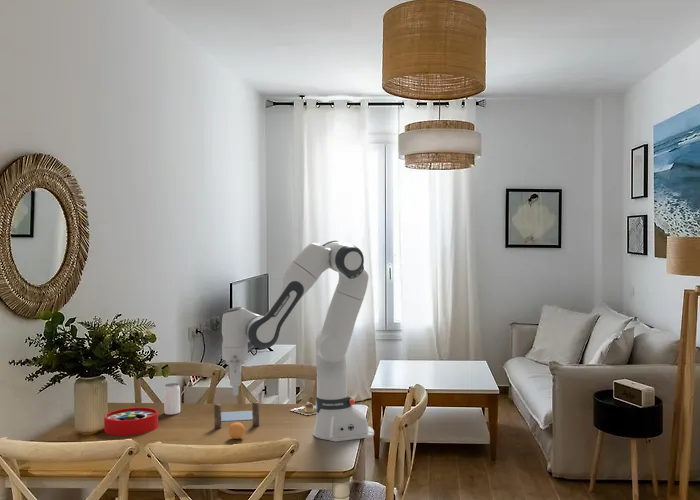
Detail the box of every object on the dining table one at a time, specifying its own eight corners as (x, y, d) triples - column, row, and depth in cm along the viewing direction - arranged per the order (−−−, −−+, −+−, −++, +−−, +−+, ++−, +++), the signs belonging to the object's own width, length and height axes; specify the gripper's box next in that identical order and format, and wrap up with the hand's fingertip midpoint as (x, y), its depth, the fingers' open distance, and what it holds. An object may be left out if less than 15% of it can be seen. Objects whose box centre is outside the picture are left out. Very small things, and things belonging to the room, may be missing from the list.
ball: (245, 435, 253) (244, 419, 253) (245, 440, 247) (244, 424, 247) (228, 436, 252) (228, 420, 252) (228, 441, 246) (228, 425, 246)
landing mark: (254, 410, 289) (254, 410, 289) (254, 419, 275) (254, 419, 275) (220, 412, 287) (220, 412, 287) (219, 421, 273) (219, 421, 273)
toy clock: (163, 416, 261) (108, 423, 252) (163, 431, 261) (108, 439, 252) (151, 405, 279) (100, 411, 269) (152, 419, 279) (100, 426, 270)
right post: (259, 424, 268) (258, 401, 268) (259, 426, 265) (259, 403, 265) (252, 424, 267) (252, 402, 267) (252, 426, 265) (252, 403, 265)
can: (176, 415, 284) (175, 386, 283) (161, 414, 285) (161, 386, 285) (182, 411, 290) (182, 383, 290) (168, 410, 291) (168, 382, 291)
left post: (221, 426, 265) (221, 403, 265) (221, 428, 263) (220, 405, 263) (214, 427, 265) (214, 404, 265) (214, 428, 262) (213, 405, 262)
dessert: (329, 412, 287) (329, 400, 287) (307, 417, 279) (307, 406, 279) (311, 407, 296) (310, 396, 296) (289, 412, 288) (289, 401, 288)
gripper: (244, 358, 228) (245, 400, 228) (244, 348, 248) (244, 386, 249) (225, 359, 227) (226, 401, 227) (226, 349, 247) (227, 387, 248)
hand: (235, 393), depth 238 cm, fingers open, 3 cm apart
